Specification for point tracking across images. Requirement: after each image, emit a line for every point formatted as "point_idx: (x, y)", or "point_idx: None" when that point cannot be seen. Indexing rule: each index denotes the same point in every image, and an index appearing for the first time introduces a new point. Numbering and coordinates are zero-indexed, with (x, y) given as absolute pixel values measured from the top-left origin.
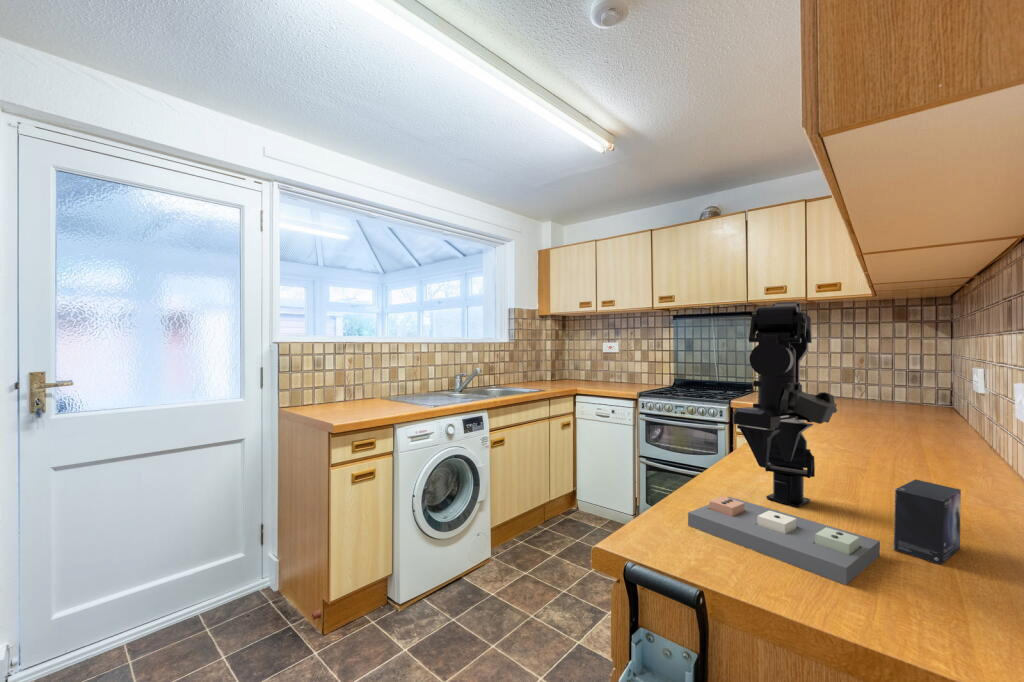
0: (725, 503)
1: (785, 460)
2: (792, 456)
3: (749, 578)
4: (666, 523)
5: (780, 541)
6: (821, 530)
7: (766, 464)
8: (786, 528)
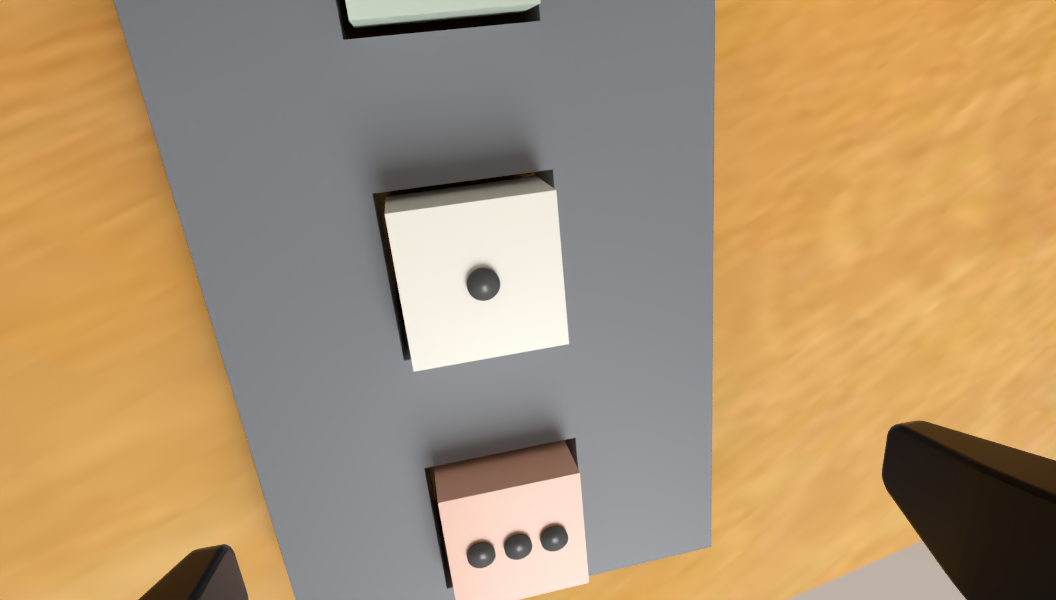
0: (556, 527)
1: (243, 592)
2: (162, 592)
3: (929, 78)
4: (734, 548)
5: (674, 129)
6: (443, 9)
7: (945, 433)
8: (527, 188)
